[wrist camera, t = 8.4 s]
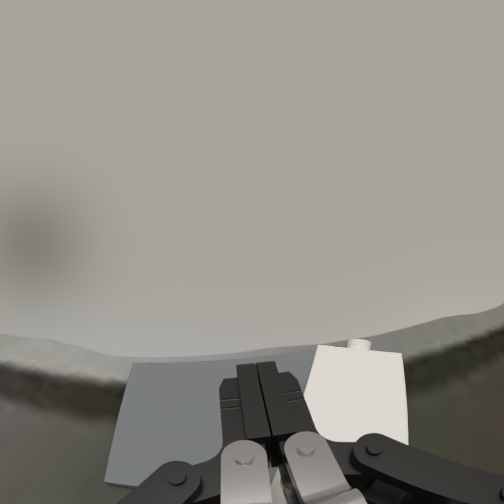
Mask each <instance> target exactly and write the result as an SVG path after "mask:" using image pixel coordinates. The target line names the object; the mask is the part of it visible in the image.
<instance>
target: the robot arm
mask: <svg viewBox="0 0 504 504" xmlns="http://www.w3.org/2000/svg"><path fill="white" fill-rule="evenodd" d="M236 373H237V378H224V379H223V381H222V383H221V385H220V387H219V398H220V412H221V426H222V438H223V444H222V448H221V450H220V452H219V453H218V454H217V455H216V456H215V457H213V458H212V459H210V460H208V461H205V462H202V463H199V464H195V465H191V464H189V463H187V462H184V461H170V462H167V463H164V464H163V465H161V466H160V467H159V468H158V469H157V470H155V471H154V472H153V473H152V474H151V475H150V476H149V477H148V478H146V479H145V480H144V481H143V482H142V483H141V484H140V485H138V486H137V487H136V488H135V489H134V490H133V491H131V492H130V493H129V494H128V495H127V496H125V497H124V498H123V499H122V500H121V501H119V502H118V503H117V504H272V497H271V489H270V480H269V468H270V464H271V468H273V467H278V468H279V472H280V476H281V477H280V485H281V488H282V491H283V494H284V496H285V499H286V502H287V504H504V476H500V475H496V474H493V473H489V472H485V471H481V470H478V469H475V468H471V467H468V466H465V465H462V464H458V463H455V462H452V461H449V460H446V459H444V458H441V457H438V456H435V455H432V454H430V453H427V452H424V451H422V450H419V449H416V448H414V447H411V446H409V445H406V444H404V443H402V442H399V441H397V440H394V439H392V438H390V437H387V436H385V435H383V434H379V433H369V434H365V435H363V436H361V437H360V438H359V439H358V440H357V441H356V442H335V441H331V440H328V439H326V438H324V437H323V436H321V435H320V434H319V433H318V431H317V429H316V427H315V425H314V422H313V419H312V417H311V414H310V411H309V409H308V406H307V403H306V401H305V399H304V395H303V392H302V391H301V387H300V384H299V382H298V379H297V378H296V377H294V376H293V375H292V374H291V373H290V372H281V373H278V370H277V366H276V363H275V361H266V362H257V363H256V364H255V363H248V364H237V365H236Z"/></svg>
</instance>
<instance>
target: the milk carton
mask: <svg viewBox="0 0 504 504" xmlns="http://www.w3.org/2000/svg"><path fill="white" fill-rule="evenodd" d="M370 348H371V342H369V341H367V340H362V339H352V340H349V341H348V345H347V348H342V347H334V346H326V345H318V347H317V350H316V354H315V357H314V361H313V365H312V368H311V371H310V375H309V378H308V382H307V385H306V388H305V391H304V399H305V401H306V403H307V406H308V409H309V411H310V414H311V417H312V419H313V422H314V425H315V427H316V429H317V431H318V433H319V434H320V435H321V436H323V437H324V438H326V439H328V440H331V441H335V442H356V441H357V440H358V439H359V438H360V437H361V436H363V435H365V434H369V433H379V434H383V435H385V436H387V437H390V438H392V439H394V440H397V441H399V442H402V443H404V444H406V445H408V418H407V401H406V389H405V378H404V369H403V360H402V353H392V352H380V351H370ZM280 477H281V476H280V472H279V468H278V469H277V471H276V474H275V476H274V479H273V481H272V484H271V486H270V489H271V497H272V504H287V502H286V499H285V496H284V494H283V491H282V488H281V485H280Z"/></svg>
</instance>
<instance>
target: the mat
mask: <svg viewBox="0 0 504 504" xmlns="http://www.w3.org/2000/svg"><path fill="white" fill-rule="evenodd" d="M334 347H337V346H334ZM316 350H317V349H315V350H309V351H302V352H295V353H288V354H280V355H271V356H262V357H253V358H242V359H231V360H217V361H200V362H175V363H133V365H132V368H131V372H130V375H129V379H128V382H127V386H126V390H125V393H124V397H123V401H122V405H121V408H120V412H119V416H118V420H117V424H116V429H115V433H114V437H113V441H112V446H111V450H110V455H109V460H108V465H107V470H106V475H105V480H104V482H105V483H106V484H107V485H113V486H120V487H127V488H136V487H137V486H138V485H140V484H141V483H142V482H143V481H144V480H145V479H146V478H148V477H149V476H150V475H151V474H152V473H153V472H154V471H155V470H157V469H158V468H159V467H160V466H161V465H163V464H164V463H167V462H170V461H184V462H187V463H189V464H191V465H195V464H199V463H202V462H205V461H208V460H210V459H212V458H213V457H215V456H216V455H217V454H218V453H219V452H220V450H221V448H222V444H223V438H222V426H221V412H220V398H219V387H220V385H221V383H222V381H223V379H224V378H237V373H236V365H237V364H248V363H255V364H256V363H257V362H266V361H275V363H276V366H277V370H278V373H281V372H290V373H291V374H292V375H293V376H294V377H296V378H297V379H298V382H299V384H300V387H301V391H302V392H303V395H304V391H305V388H306V385H307V382H308V378H309V375H310V371H311V368H312V365H313V361H314V357H315V354H316ZM277 469H278V467H273V468H271V464H270V468H269V480H270V485H271V484H272V481H273V479H274V476H275V474H276V471H277Z"/></svg>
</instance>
